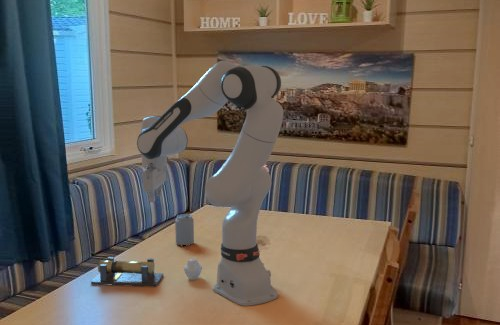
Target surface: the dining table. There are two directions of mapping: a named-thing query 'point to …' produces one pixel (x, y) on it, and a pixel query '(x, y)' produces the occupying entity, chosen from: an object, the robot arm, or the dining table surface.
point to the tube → (126, 266)
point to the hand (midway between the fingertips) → (155, 198)
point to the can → (184, 229)
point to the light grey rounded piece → (193, 269)
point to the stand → (127, 277)
